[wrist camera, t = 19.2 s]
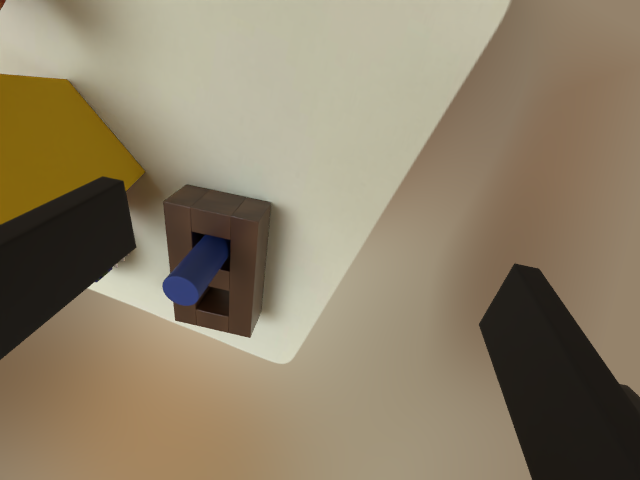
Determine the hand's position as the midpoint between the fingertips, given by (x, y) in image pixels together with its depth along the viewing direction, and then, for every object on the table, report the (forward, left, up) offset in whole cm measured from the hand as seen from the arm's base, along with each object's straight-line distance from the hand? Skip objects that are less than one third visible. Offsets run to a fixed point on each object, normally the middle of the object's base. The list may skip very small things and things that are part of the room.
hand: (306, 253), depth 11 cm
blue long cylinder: (+12, +16, -25) cm, 32 cm away
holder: (+12, +20, -25) cm, 34 cm away
